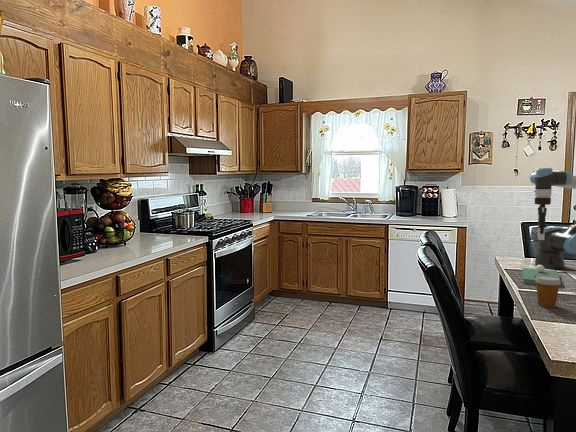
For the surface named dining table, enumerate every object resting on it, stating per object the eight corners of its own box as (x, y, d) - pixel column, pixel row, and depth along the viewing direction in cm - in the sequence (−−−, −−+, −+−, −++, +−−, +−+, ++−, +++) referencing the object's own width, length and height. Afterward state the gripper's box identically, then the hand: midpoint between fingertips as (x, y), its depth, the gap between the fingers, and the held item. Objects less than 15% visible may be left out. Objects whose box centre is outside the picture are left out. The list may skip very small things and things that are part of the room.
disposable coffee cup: (563, 309, 179) (565, 280, 178) (538, 308, 181) (539, 280, 180) (554, 302, 188) (555, 275, 187) (530, 301, 190) (531, 274, 189)
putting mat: (522, 272, 241) (522, 268, 241) (556, 275, 234) (556, 270, 234) (523, 283, 218) (523, 278, 218) (560, 287, 211) (561, 282, 211)
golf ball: (538, 270, 234) (539, 263, 233) (546, 272, 230) (546, 265, 230) (533, 271, 232) (534, 264, 232) (541, 273, 229) (541, 265, 228)
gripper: (533, 195, 245) (532, 235, 247) (535, 198, 226) (533, 241, 228) (549, 195, 241) (547, 235, 244) (552, 198, 222) (550, 242, 225)
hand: (540, 238), depth 236 cm, fingers open, 9 cm apart
